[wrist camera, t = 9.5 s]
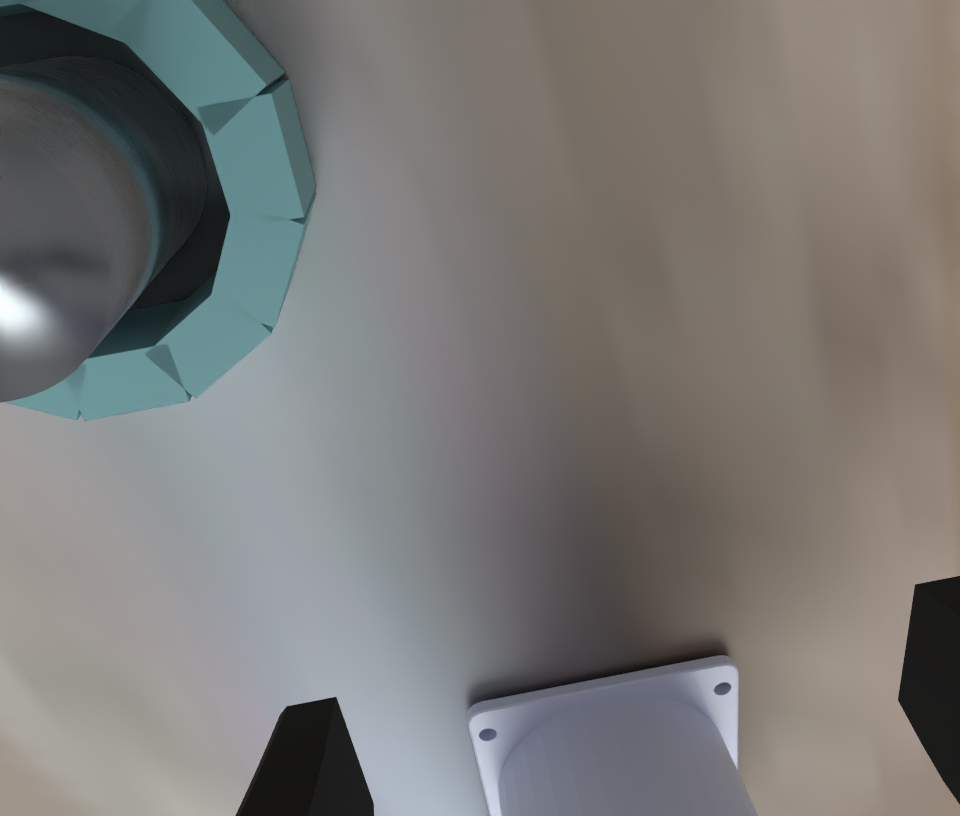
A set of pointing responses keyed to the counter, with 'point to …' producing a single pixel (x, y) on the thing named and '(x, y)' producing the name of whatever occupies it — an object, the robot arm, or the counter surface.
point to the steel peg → (84, 208)
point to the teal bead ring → (248, 192)
